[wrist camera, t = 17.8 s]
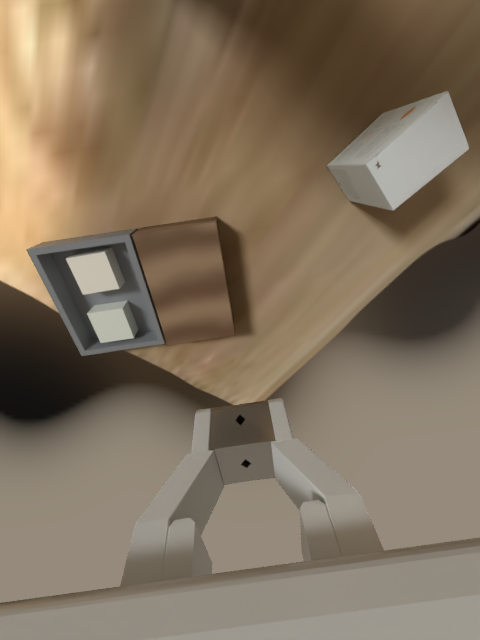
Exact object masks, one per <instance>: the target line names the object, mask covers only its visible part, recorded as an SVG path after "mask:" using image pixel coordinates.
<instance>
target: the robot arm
mask: <svg viewBox="0 0 480 640" xmlns="http://www.w3.org/2000/svg"><path fill="white" fill-rule="evenodd" d="M268 478H275V479H276V481H277V482H278V483H279V485H280V486H281V487H282V488H283V490H284V491H285V492H286V494H287V495H288V496H289V497H290V499H291V500H292V501H293V502H294V504H295V505H296V506H297V508H298V509H299V510H300V519H301V545H302V554H303V559H304V562H296V563H290V564H282V565H275V566H267V567H260V568H252V569H245V570H238V571H230V572H223V573H216V574H212V562H211V560H210V557H209V555H208V552H207V550H206V547H205V545H204V543H203V540H202V538H201V534H202V532H203V530H204V528H205V525H206V524H207V522H208V520H209V517H210V515H211V513H212V511H213V509H214V507H215V505H216V503H217V501H218V498H219V496H220V494H221V492H222V490H223V488H224V485H227V484H232V483H238V482H244V481H249V480H250V481H251V480H260V479H268ZM0 640H480V538H474V539H466V540H458V541H451V542H444V543H436V544H429V545H421V546H415V547H407V548H399V549H392V550H386V551H384V550H383V548H382V545H381V542H380V540H379V538H378V535H377V533H376V531H375V528H374V526H373V524H372V521H371V519H370V517H369V514H368V512H367V509H366V507H365V505H364V502H363V500H362V498H361V495H360V493H359V492H358V491H357V490H355V489H354V488H353V487H352V486H351V485H350V484H349V483H348V482H347V481H345V480H344V479H343V478H342V477H341V476H340V475H339V474H337V472H335V471H334V470H333V469H332V468H331V467H330V466H329V465H328V464H326V463H325V462H324V461H323V460H322V459H321V458H320V457H318V455H316V454H315V453H314V452H313V451H312V450H311V449H310V448H309V447H307V446H306V445H305V444H304V443H303V442H302V441H301V440H300V439H298V438H293V435H292V431H291V427H290V424H289V420H288V416H287V413H286V409H285V405H284V401H283V399H282V398H280V399H273V400H268V401H267V400H266V401H259V402H253V403H246V404H240V405H234V406H226V407H218V408H211V409H203V410H197V412H196V414H195V424H194V433H193V443H192V453H188V454H186V456H185V457H184V458H183V460H182V461H181V463H180V464H179V466H178V467H177V468H176V469H175V471H174V472H173V473H172V475H171V476H170V478H169V479H168V480H167V481H166V483H165V484H164V485H163V487H162V488H161V490H160V491H159V492H158V494H157V495H156V496H155V498H154V499H153V501H152V502H151V503H150V504H149V506H148V507H147V509H146V510H145V511H144V513H143V514H142V515H141V517H140V518H139V519H138V521H137V522H136V523H135V527H134V531H133V536H132V539H131V544H130V548H129V552H128V556H127V560H126V564H125V569H124V573H123V577H122V581H121V585H120V587H113V588H106V589H98V590H91V591H84V592H77V593H69V594H62V595H55V596H47V597H40V598H33V599H25V600H18V601H11V602H3V603H0Z"/></svg>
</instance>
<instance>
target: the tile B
mask: <svg viewBox="0 0 480 640" xmlns="http://www.w3.org/2000/svg"><path fill="white" fill-rule="evenodd" d="M87 315H88V317H89V319H90V321H91V324H92V326H93V328H94V330H95V332H96V334H97V336H98V339H99V341H100V343H105V342H111V341H118V340H125V339H132V338H134V337H135V335H136V333H137V331H138V327H137V324H136V322H135V319H134V316H133V313H132V311H131V308H130V305H129V303H128V301H121V302H115V303H108V304H101V305H94V306H93V307H92V308H91V309H90V311H89V312H88V313H87Z"/></svg>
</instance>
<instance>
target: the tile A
mask: <svg viewBox="0 0 480 640" xmlns="http://www.w3.org/2000/svg"><path fill="white" fill-rule="evenodd" d="M66 260H67V263H68V265H69V267H70V269H71V271H72V273H73V275H74V277H75V279H76V281H77V283H78V286H79V288H80V290H81V292H82V294H83V295H85V294H91V293H97V292H103V291H109V290H115V289H120V288H121V286H122V285H123V284H124V283H125V280H124V277H123V275H122V272H121V270H120V267H119V264H118V262H117V259H116V256H115V254H114V251H113V249H112V247H107V248H102V249H96V250H90V251H84V252H78V253H74V254H72V255H71V256H69V257H67V258H66Z"/></svg>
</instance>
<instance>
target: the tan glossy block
mask: <svg viewBox="0 0 480 640" xmlns="http://www.w3.org/2000/svg"><path fill="white" fill-rule="evenodd" d="M132 236H133V239H134V242H135V245H136V248H137V252H138V255H139V258H140V261H141V264H142V267H143V270H144V273H145V277H146V280H147V283H148V286H149V289H150V292H151V295H152V299H153V302H154V305H155V308H156V311H157V314H158V317H159V320H160V324H161V327H162V330H163V333H164V336H165V339H166V342H167V345H173V344H180V343H187V342H194V341H201V340H208V339H215V338H222V337H229V336H235V330H234V320H233V314H232V308H231V302H230V296H229V290H228V284H227V277H226V271H225V265H224V259H223V253H222V247H221V241H220V235H219V229H218V223H217V217H211V218H204V219H197V220H190V221H184V222H177V223H170V224H164V225H157V226H150V227H143V228H140V229H139V230H137V231H136V232H135V233H134V234H132Z"/></svg>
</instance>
